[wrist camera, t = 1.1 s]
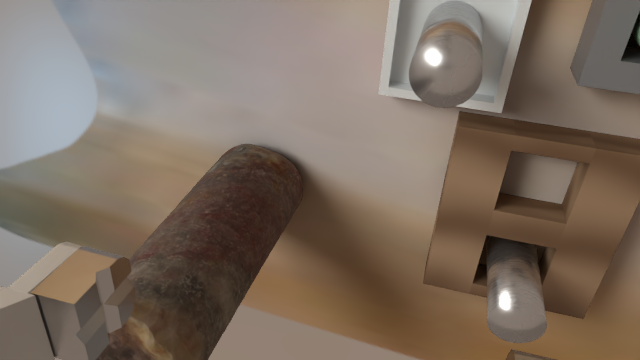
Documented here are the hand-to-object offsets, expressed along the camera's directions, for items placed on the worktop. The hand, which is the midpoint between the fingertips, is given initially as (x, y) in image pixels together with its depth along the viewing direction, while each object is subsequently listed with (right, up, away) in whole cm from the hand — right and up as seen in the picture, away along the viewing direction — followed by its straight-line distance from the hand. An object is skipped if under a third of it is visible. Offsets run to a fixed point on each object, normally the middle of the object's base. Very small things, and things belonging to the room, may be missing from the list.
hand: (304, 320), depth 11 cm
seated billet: (+15, -2, +29) cm, 33 cm away
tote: (+9, +13, +22) cm, 27 cm away
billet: (+9, +12, +22) cm, 26 cm away
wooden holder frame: (+15, +1, +27) cm, 31 cm away
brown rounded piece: (-4, +3, +32) cm, 33 cm away
